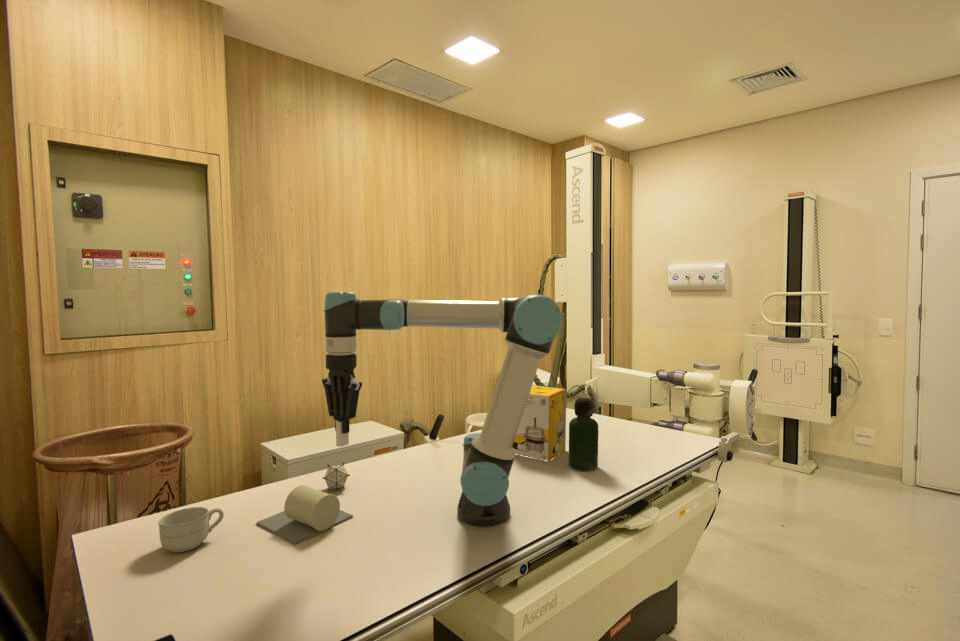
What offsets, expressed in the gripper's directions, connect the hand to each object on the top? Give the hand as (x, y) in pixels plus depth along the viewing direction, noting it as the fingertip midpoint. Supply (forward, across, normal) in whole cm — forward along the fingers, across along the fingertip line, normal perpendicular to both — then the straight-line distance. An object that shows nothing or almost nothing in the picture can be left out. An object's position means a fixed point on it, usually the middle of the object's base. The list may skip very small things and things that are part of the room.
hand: (342, 444), depth 122 cm
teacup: (+25, -28, -24) cm, 44 cm away
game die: (+25, -27, +19) cm, 41 cm away
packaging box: (+25, +9, +89) cm, 93 cm away
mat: (+24, -16, 0) cm, 29 cm away
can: (+19, -6, 0) cm, 20 cm away
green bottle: (+25, +30, +84) cm, 92 cm away
